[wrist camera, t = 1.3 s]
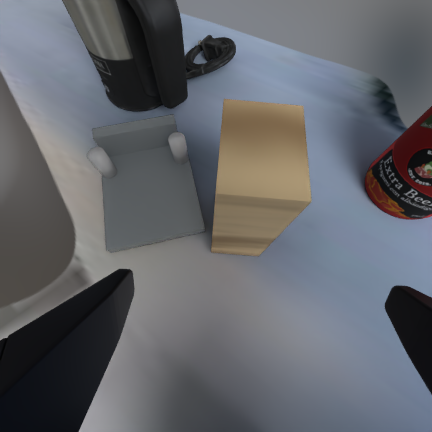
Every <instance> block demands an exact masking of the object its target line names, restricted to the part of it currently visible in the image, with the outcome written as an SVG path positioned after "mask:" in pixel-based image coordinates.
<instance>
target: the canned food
mask: <svg viewBox="0 0 432 432" xmlns="http://www.w3.org/2000/svg"><path fill="white" fill-rule="evenodd" d="M365 187H366V191H367V193H368V195H369V197H370V199H371V200H372V201H373V203H374V204H375V205H376V206H378V207H379V208H380V209H381V210H383V211H384V212H386V213H388V214H390V215H392V216H395V217H398V218H402V219H422V218H427V217H431V216H432V106H431V107H430V108H429V109H428V110H427V111H426V112H425V113H424V114H423V115H422V116H421V117H420V118H419V119H418V120H417V121H416V122H415V123H414V124H413V125H412V126H410V127H409V128H408V129H407V130H406V131H405V132H404V133H403V134H402V135H401V136H400V137H399V138H398V139H397V140H396V141H395V142H394V143H393V144H392V145H391V146H390V147H389V148H387V149H386V150H385V151H384V152H383V153H382V154H381V155H380V156H379V157H378V158H377V159H376V160H375V161H374V162H373V163H372V164H371V166H370V167H369V169H368V171H367V174H366V177H365Z"/></svg>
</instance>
